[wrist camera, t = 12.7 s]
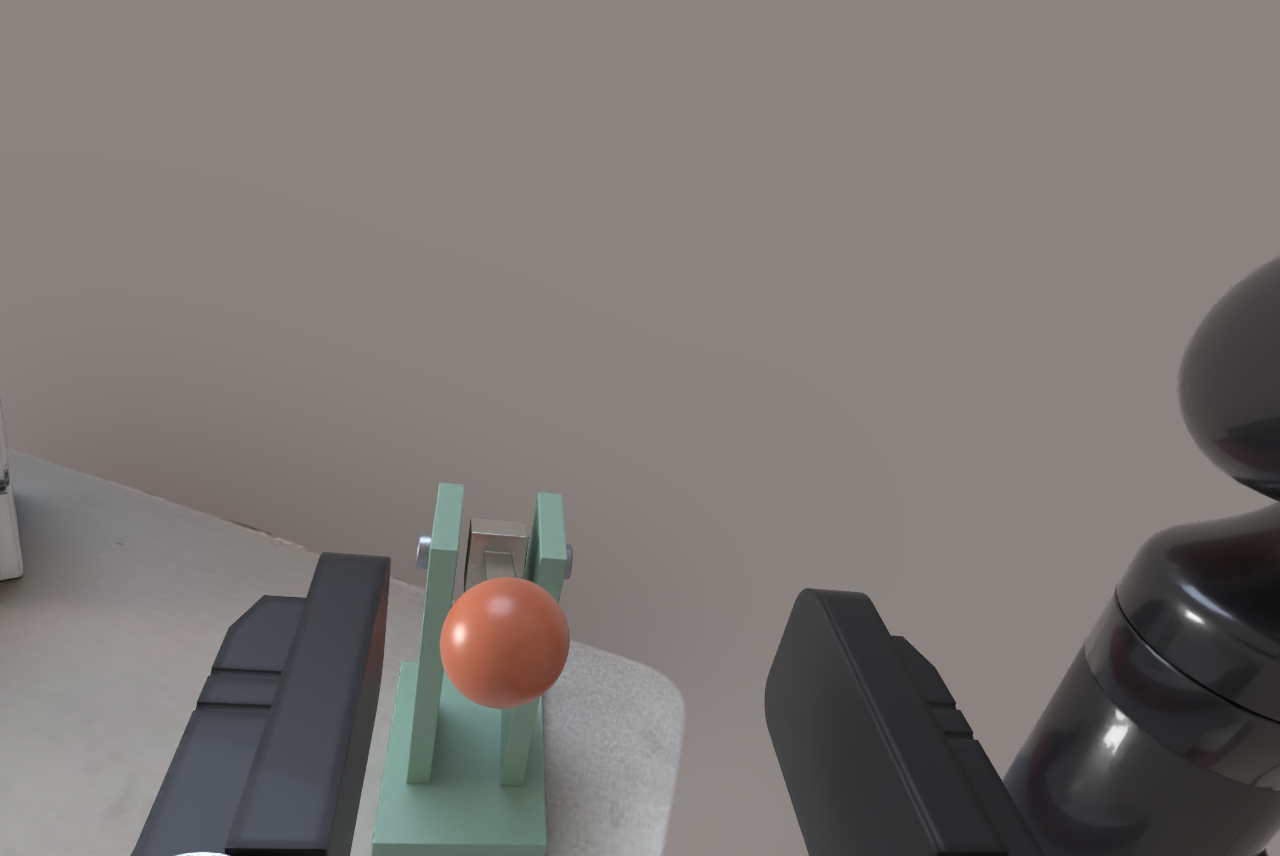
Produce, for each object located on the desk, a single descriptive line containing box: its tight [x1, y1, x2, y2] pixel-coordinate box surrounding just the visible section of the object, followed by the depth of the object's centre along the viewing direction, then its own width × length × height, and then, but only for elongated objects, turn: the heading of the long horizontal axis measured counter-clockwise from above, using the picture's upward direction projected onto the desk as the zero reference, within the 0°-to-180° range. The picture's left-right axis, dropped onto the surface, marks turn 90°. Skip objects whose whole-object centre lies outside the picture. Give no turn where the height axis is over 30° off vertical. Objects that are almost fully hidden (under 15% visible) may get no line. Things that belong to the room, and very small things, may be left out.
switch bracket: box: [371, 483, 573, 856], centre depth 36 cm, size 10×7×14 cm
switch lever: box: [440, 518, 569, 709], centre depth 28 cm, size 13×4×4 cm, turn 6°
